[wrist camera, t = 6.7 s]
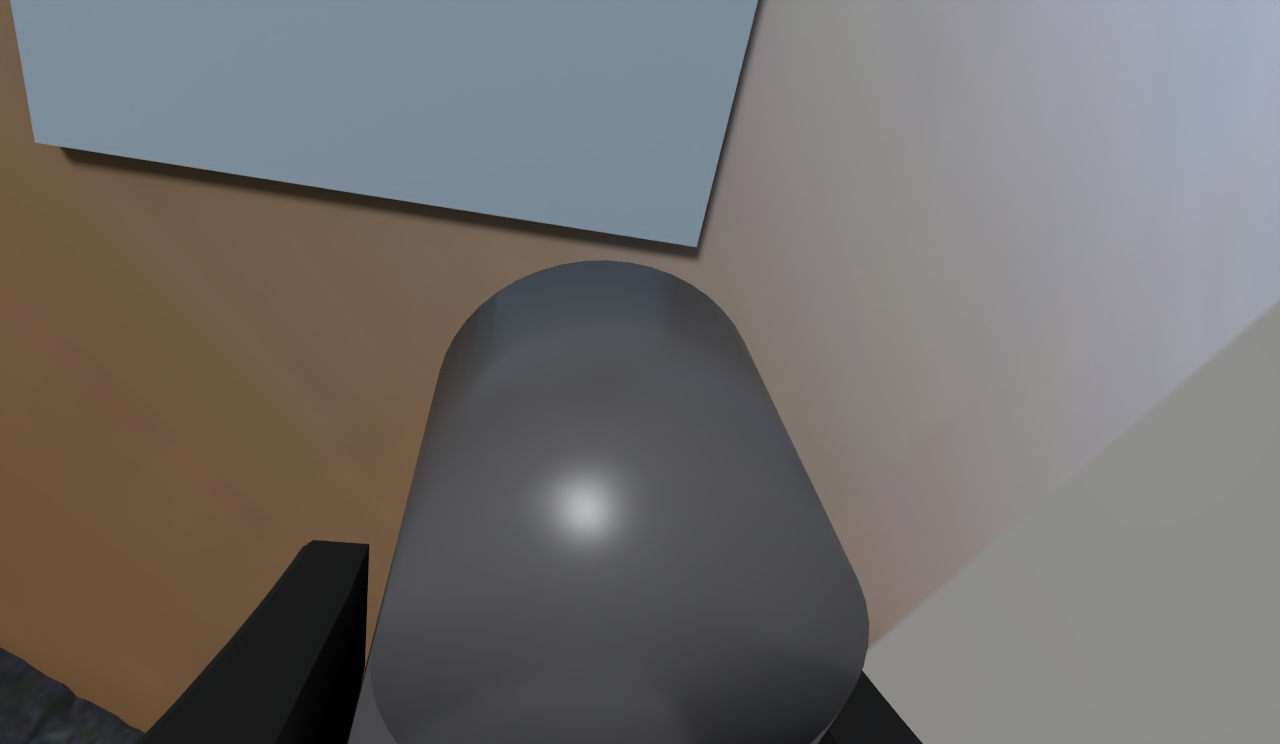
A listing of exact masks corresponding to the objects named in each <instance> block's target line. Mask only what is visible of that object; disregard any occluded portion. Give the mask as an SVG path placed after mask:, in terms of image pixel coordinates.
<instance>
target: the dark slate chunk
mask: <svg viewBox="0 0 1280 744" xmlns="http://www.w3.org/2000/svg"><path fill="white" fill-rule="evenodd" d="M144 735H145V733H144V732H142V731H141V730H138V729H136V728H133V727H131V726H129V725H128V724H126V723H125V722H123V721H122V720H121V719H120V718H119V717H118V716H116V715H114V714H112V713H110V712H108V711H106V710H104V709H102V708H101V707H99V706H97V705H95V704H93V703H91V702H90V701H87V700H85V699H82V698H79V697H76V696H75V694H74V693H73V692H72V691H71V690H70V689H69V688H68V687H67V686H66V685H64V684H63V683H60V682H58V681H56V680H53V679H51V678H49V677H48V676H46V675H44V674H43V673H41V672H40V671H38V670H37V669H35V668H34V667H32V666H31V665H30V664H28V663H27V662H25V661H24V660H23V659H21V658H19V657H17V656H15V655H13V654H11V653H9V652H7V651H6V650H4V649H2V648H0V744H136V743H137V742H138V741H139V740H140V739H141V738H142V737H143V736H144Z"/></svg>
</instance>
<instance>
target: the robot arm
mask: <svg viewBox="0 0 1280 744" xmlns="http://www.w3.org/2000/svg"><path fill="white" fill-rule="evenodd" d="M368 564H369V544H358V543H345V542H331V541H317V540H313V541H311V542H310V543H308V544H307V545H305V546H304V547H302V549H301V550H300V551H299V553H298V554H297V556H296V557H295V559H294V560H293V561H292V563H291V564H290V565H289V567H288V568H287V569H286V571H285V572H284V573H283V575H282V576H281V577H280V579H279V580H278V581H277V583H276V584H275V585H274V587H273V588H272V589H271V590H270V592H269V593H268V594H267V596H266V597H265V598H264V599H263V601H262V602H261V603H260V604H259V606H258V607H257V608H256V609H255V611H254V612H253V613H252V614H251V615H250V617H249V618H248V619H247V620H246V621H245V623H244V624H243V625H242V626H241V627H240V629H239V630H238V631H237V632H236V634H235V635H234V636H233V637H232V638H231V640H230V641H229V642H228V643H227V644H226V645H225V646H224V648H223V649H222V650H221V651H220V652H219V653H218V654H217V655H216V657H215V658H214V659H213V660H212V661H211V662H210V663H209V665H208V666H207V667H206V668H205V669H204V670H203V671H202V673H201V674H200V675H199V676H198V677H197V678H196V679H195V680H194V682H193V683H192V684H191V685H190V686H189V687H188V688H187V690H186V691H185V692H184V693H183V694H182V695H181V696H180V697H179V699H178V700H177V701H176V702H175V703H174V704H173V705H172V706H171V707H170V708H169V709H168V711H167V712H166V713H165V714H164V715H163V716H162V717H161V718H160V719H159V720H158V721H157V722H156V723H155V724H154V725H153V726H152V727H151V728H150V729H149V730H148V731H147V732H146V734H145V735H144V736H143V737H142V738H141V739H140V740H139V741H138V742H137V743H136V744H347V742H348V738H349V734H350V730H351V725H352V721H353V717H354V713H355V709H356V705H357V701H358V697H359V693H360V688H361V683H362V678H363V673H364V668H365V647H366V619H367V591H368ZM818 744H923V743H922V742H921V741H920V740H919V739H918V738H917V736H916V735H915V734H914V733H913V732H912V731H911V729H910V728H909V727H908V726H907V725H906V723H905V722H904V721H903V720H902V719H901V718H900V716H899V715H898V714H897V713H896V712H895V710H894V709H893V708H892V707H891V705H890V704H889V703H888V702H887V701H886V700H885V698H884V697H883V696H882V694H881V693H880V692H879V691H878V690H877V688H876V687H875V686H874V685H873V683H872V682H871V681H870V680H869V678H868V677H867V676H866V675H865V673H864V672H863V671H861V673H860V676H859V678H858V681H857V683H856V686H855V688H854V690H853V691H852V693H851V695H850V696H849V698H848V700H847V701H846V703H845V705H844V706H843V708H842V709H841V711H840V712H839V714H838V715H837V717H836V718H835V720H834V721H833V722H832V724H831V725H830V727H829V728H828V730H827V731H826V733H825V734H824V736H823V737H822V738H821V740H820V741H819V743H818Z"/></svg>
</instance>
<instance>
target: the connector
mask: <svg viewBox="0 0 1280 744" xmlns="http://www.w3.org/2000/svg"><path fill="white" fill-rule="evenodd" d="M868 636H869V620H868V613H867V607H866V601H865V598H864V595H863V593H862V590H861V587H860V584H859V582H858V579H857V577H856V575H855V573H854V571H853V569H852V567H851V564H850V562H849V560H848V558H847V556H846V554H845V552H844V550H843V548H842V546H841V543H840V541H839V539H838V537H837V535H836V533H835V531H834V529H833V527H832V525H831V523H830V520H829V518H828V516H827V514H826V512H825V510H824V508H823V506H822V504H821V502H820V500H819V497H818V495H817V493H816V491H815V489H814V487H813V485H812V483H811V481H810V479H809V477H808V474H807V472H806V470H805V468H804V466H803V464H802V462H801V460H800V458H799V456H798V453H797V451H796V449H795V447H794V445H793V443H792V441H791V439H790V437H789V435H788V433H787V430H786V428H785V426H784V424H783V422H782V420H781V418H780V416H779V414H778V412H777V410H776V407H775V405H774V403H773V401H772V399H771V397H770V395H769V393H768V391H767V389H766V387H765V384H764V382H763V380H762V378H761V376H760V374H759V372H758V370H757V368H756V366H755V363H754V361H753V359H752V357H751V355H750V353H749V351H748V349H747V347H746V345H745V343H744V341H743V339H742V337H741V335H740V334H739V332H738V330H737V328H736V327H735V325H734V324H733V322H732V321H731V320H730V319H729V317H728V316H727V315H726V314H725V312H724V311H723V310H722V309H721V308H720V307H719V306H718V305H717V304H716V303H715V302H714V301H713V300H711V299H710V298H709V297H708V296H707V295H705V294H704V293H703V292H701V291H700V290H698V289H697V288H695V287H694V286H693V285H691V284H689V283H687V282H685V281H683V280H681V279H679V278H678V277H676V276H674V275H671V274H669V273H666V272H663V271H660V270H657V269H655V268H652V267H647V266H643V265H638V264H634V263H628V262H617V261H583V262H576V263H570V264H563V265H559V266H555V267H552V268H548V269H545V270H541V271H538V272H536V273H533V274H531V275H529V276H526V277H524V278H522V279H519V280H517V281H515V282H514V283H512V284H510V285H509V286H507V287H505V288H504V289H502V290H500V291H499V292H497V293H496V294H495V295H493V296H492V297H491V298H490V299H488V300H487V301H486V302H484V303H483V304H482V305H481V306H480V307H479V308H478V309H477V310H476V311H475V312H474V313H473V314H472V315H471V316H470V317H469V318H468V319H467V320H466V322H465V323H464V324H463V326H462V327H461V329H460V330H459V331H458V333H457V334H456V336H455V337H454V339H453V341H452V343H451V345H450V347H449V349H448V351H447V352H446V354H445V357H444V360H443V363H442V366H441V369H440V372H439V376H438V380H437V384H436V388H435V392H434V396H433V400H432V404H431V408H430V412H429V416H428V420H427V424H426V428H425V432H424V436H423V440H422V444H421V448H420V452H419V456H418V460H417V464H416V468H415V472H414V476H413V480H412V484H411V488H410V492H409V496H408V500H407V504H406V508H405V512H404V516H403V520H402V524H401V528H400V532H399V536H398V540H397V544H396V548H395V552H394V556H393V560H392V564H391V568H390V572H389V576H388V580H387V584H386V588H385V592H384V596H383V600H382V604H381V608H380V612H379V616H378V620H377V623H376V628H375V632H374V636H373V640H372V644H371V648H370V652H369V656H368V660H367V664H366V668H365V672H364V676H363V680H362V684H361V688H360V693H359V697H358V701H357V705H356V709H355V713H354V717H353V721H352V725H351V730H350V734H349V738H348V742H347V744H818V743H819V741H820V740H821V738H822V737H823V736H824V734H825V733H826V731H827V730H828V728H829V727H830V725H831V724H832V722H833V721H834V720H835V718H836V717H837V715H838V714H839V712H840V711H841V709H842V708H843V706H844V705H845V703H846V701H847V700H848V698H849V696H850V695H851V693H852V691H853V690H854V688H855V686H856V683H857V681H858V678H859V676H860V673H861V671H862V668H863V666H864V661H865V656H866V652H867V648H868Z"/></svg>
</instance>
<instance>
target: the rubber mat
mask: <svg viewBox="0 0 1280 744" xmlns="http://www.w3.org/2000/svg"><path fill="white" fill-rule="evenodd" d="M10 1H11V7H12V13H13V18H14V24H15V30H16V36H17V41H18V47H19V53H20V59H21V64H22V70H23V76H24V82H25V87H26V93H27V99H28V105H29V110H30V116H31V122H32V128H33V133H34V139H35V143H41V144H47V145H54V146H60V147H66V148H73V149H79V150H85V151H92V152H98V153H104V154H111V155H117V156H123V157H130V158H136V159H142V160H149V161H155V162H161V163H167V164H174V165H180V166H186V167H193V168H199V169H205V170H212V171H218V172H224V173H231V174H237V175H243V176H250V177H256V178H262V179H269V180H275V181H281V182H288V183H294V184H300V185H307V186H313V187H319V188H325V189H332V190H338V191H344V192H351V193H357V194H363V195H370V196H376V197H382V198H389V199H395V200H401V201H408V202H414V203H420V204H427V205H433V206H439V207H446V208H452V209H458V210H465V211H471V212H477V213H484V214H490V215H496V216H502V217H509V218H515V219H521V220H528V221H534V222H540V223H547V224H553V225H559V226H566V227H572V228H578V229H585V230H591V231H597V232H604V233H610V234H616V235H623V236H629V237H635V238H642V239H648V240H654V241H660V242H667V243H673V244H679V245H686V246H692V247H697V244H698V240H699V236H700V232H701V228H702V224H703V220H704V216H705V212H706V208H707V204H708V200H709V196H710V192H711V188H712V184H713V180H714V176H715V172H716V167H717V163H718V159H719V155H720V151H721V147H722V143H723V139H724V135H725V131H726V127H727V123H728V119H729V115H730V111H731V107H732V103H733V99H734V95H735V91H736V87H737V83H738V79H739V75H740V71H741V67H742V63H743V59H744V55H745V51H746V47H747V43H748V39H749V35H750V31H751V27H752V23H753V19H754V15H755V11H756V7H757V3H758V0H10Z"/></svg>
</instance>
